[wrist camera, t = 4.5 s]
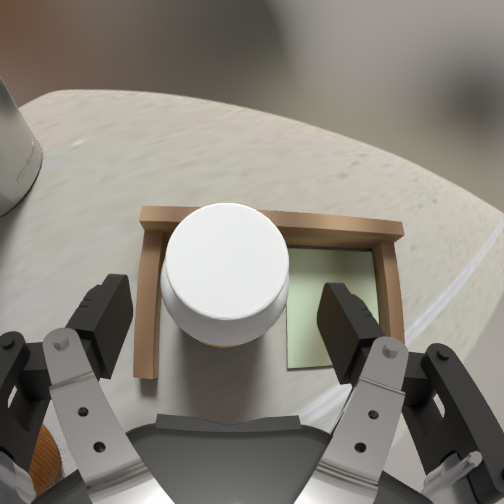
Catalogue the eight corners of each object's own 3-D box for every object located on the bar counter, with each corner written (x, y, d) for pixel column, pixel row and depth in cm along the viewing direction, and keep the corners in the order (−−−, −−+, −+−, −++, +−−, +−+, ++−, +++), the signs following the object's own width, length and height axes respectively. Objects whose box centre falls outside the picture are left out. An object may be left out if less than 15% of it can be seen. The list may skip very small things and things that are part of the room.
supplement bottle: (279, 293, 19) (337, 236, 10) (236, 364, 17) (256, 378, 8) (211, 250, 19) (207, 159, 10) (164, 316, 17) (111, 278, 8)
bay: (139, 375, 16) (125, 379, 13) (151, 226, 19) (141, 205, 16) (393, 367, 18) (418, 367, 15) (381, 237, 21) (401, 222, 18)
